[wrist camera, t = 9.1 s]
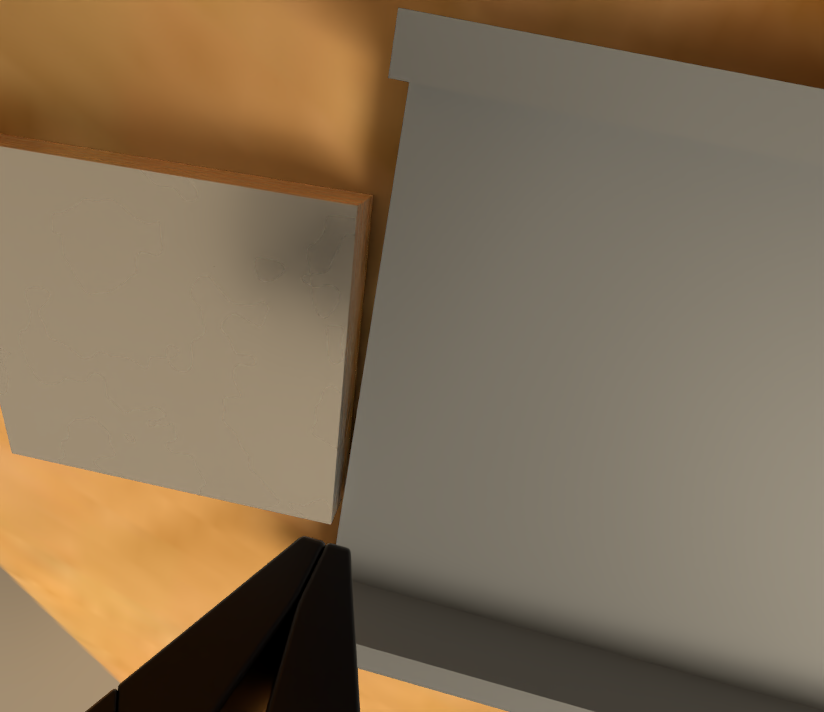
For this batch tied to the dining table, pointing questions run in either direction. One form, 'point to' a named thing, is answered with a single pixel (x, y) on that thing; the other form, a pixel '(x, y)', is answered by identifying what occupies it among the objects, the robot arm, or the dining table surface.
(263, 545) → the dining table surface
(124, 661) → the dining table surface
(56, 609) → the dining table surface
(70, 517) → the dining table surface
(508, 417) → the slide box
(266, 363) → the cover plate
